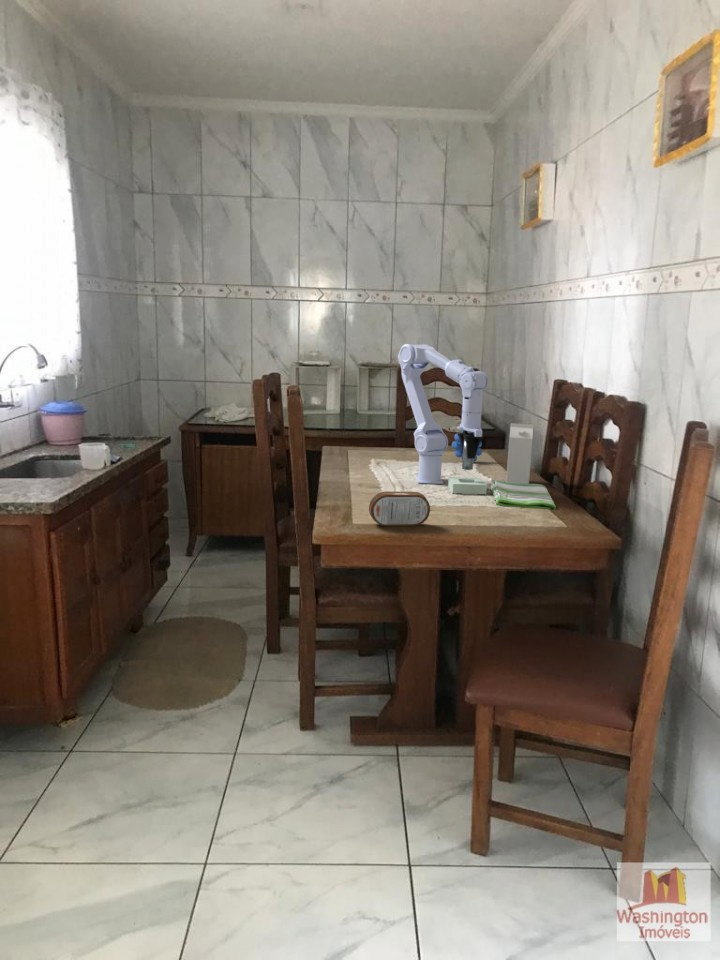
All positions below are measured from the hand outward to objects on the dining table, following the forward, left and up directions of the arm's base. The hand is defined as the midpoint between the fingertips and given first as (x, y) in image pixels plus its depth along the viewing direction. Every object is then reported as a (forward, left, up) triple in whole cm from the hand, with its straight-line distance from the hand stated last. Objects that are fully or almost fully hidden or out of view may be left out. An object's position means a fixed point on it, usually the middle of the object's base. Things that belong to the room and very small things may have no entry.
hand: (468, 457), depth 219 cm
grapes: (-48, +8, -10) cm, 50 cm away
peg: (0, 0, -3) cm, 4 cm away
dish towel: (+8, +15, -11) cm, 20 cm away
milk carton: (-15, +19, -10) cm, 26 cm away
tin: (+42, -24, -11) cm, 49 cm away
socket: (0, 0, -10) cm, 10 cm away
